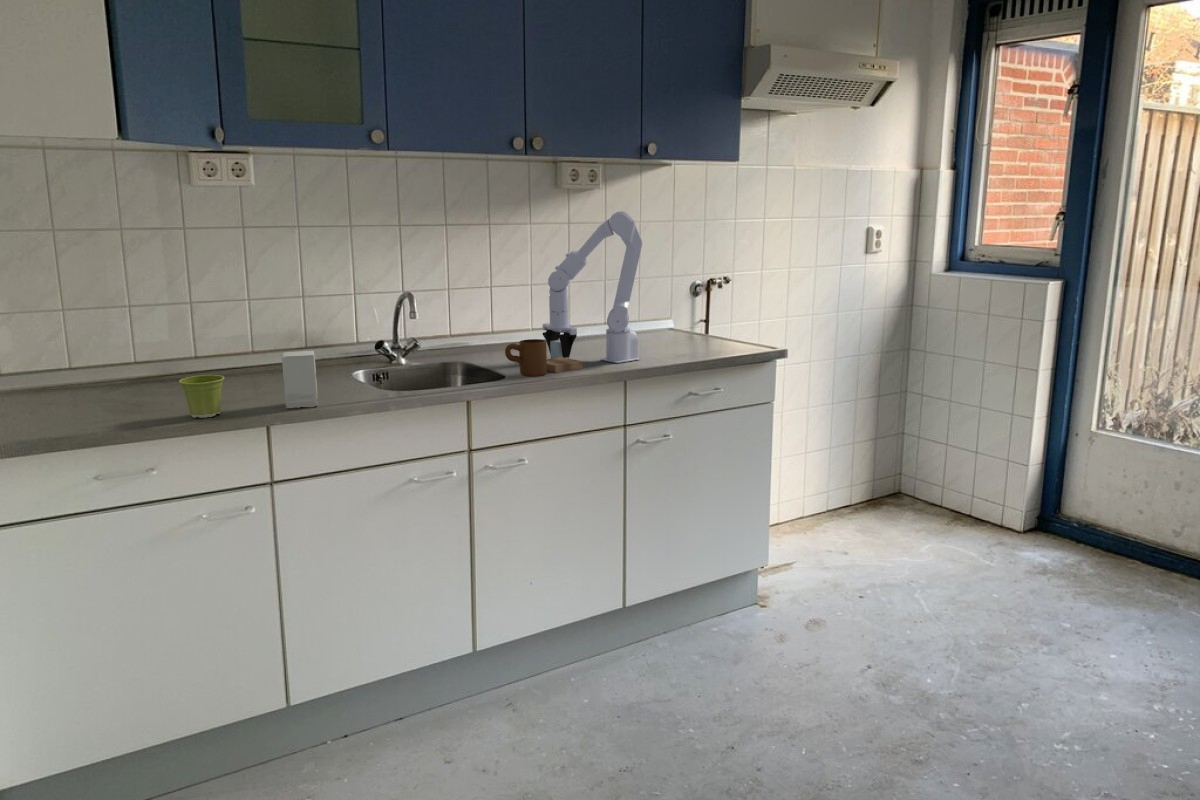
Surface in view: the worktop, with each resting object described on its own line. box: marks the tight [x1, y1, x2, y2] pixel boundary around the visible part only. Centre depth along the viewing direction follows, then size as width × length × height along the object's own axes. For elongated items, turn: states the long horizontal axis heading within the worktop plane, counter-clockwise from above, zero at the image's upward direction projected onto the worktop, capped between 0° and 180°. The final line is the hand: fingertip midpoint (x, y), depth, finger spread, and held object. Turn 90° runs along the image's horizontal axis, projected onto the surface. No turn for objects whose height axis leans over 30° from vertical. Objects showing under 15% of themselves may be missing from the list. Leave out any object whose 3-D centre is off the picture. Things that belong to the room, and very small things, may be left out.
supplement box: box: [281, 350, 318, 407], centre depth 213 cm, size 7×7×13 cm
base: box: [547, 357, 584, 374], centre depth 259 cm, size 10×10×2 cm
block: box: [550, 339, 570, 359], centre depth 271 cm, size 4×4×6 cm
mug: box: [504, 338, 548, 377], centre depth 248 cm, size 12×8×9 cm, turn 116°
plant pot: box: [178, 374, 225, 415], centre depth 204 cm, size 9×9×9 cm
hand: (559, 356), depth 271 cm, fingers open, 6 cm apart
